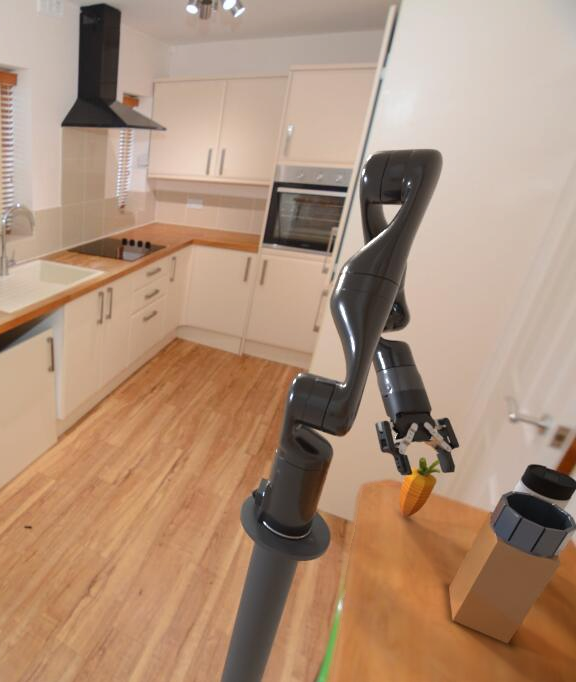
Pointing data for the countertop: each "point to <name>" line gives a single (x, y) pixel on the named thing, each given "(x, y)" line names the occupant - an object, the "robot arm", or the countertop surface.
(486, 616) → the pad socket
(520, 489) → the travel mug
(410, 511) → the carrot
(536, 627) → the countertop surface
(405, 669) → the countertop surface
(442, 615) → the countertop surface
